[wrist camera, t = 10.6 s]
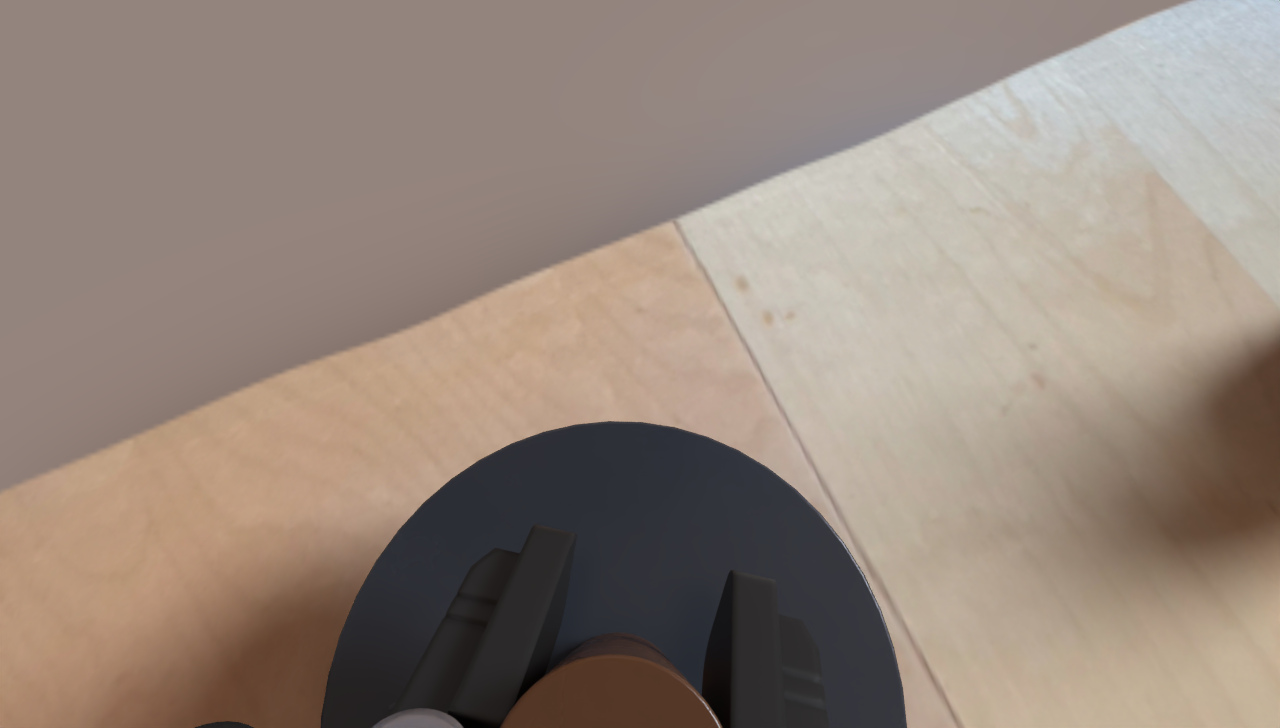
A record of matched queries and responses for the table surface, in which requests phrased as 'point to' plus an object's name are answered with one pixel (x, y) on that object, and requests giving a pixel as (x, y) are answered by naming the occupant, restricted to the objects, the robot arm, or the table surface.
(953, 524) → the table surface
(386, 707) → the lid
